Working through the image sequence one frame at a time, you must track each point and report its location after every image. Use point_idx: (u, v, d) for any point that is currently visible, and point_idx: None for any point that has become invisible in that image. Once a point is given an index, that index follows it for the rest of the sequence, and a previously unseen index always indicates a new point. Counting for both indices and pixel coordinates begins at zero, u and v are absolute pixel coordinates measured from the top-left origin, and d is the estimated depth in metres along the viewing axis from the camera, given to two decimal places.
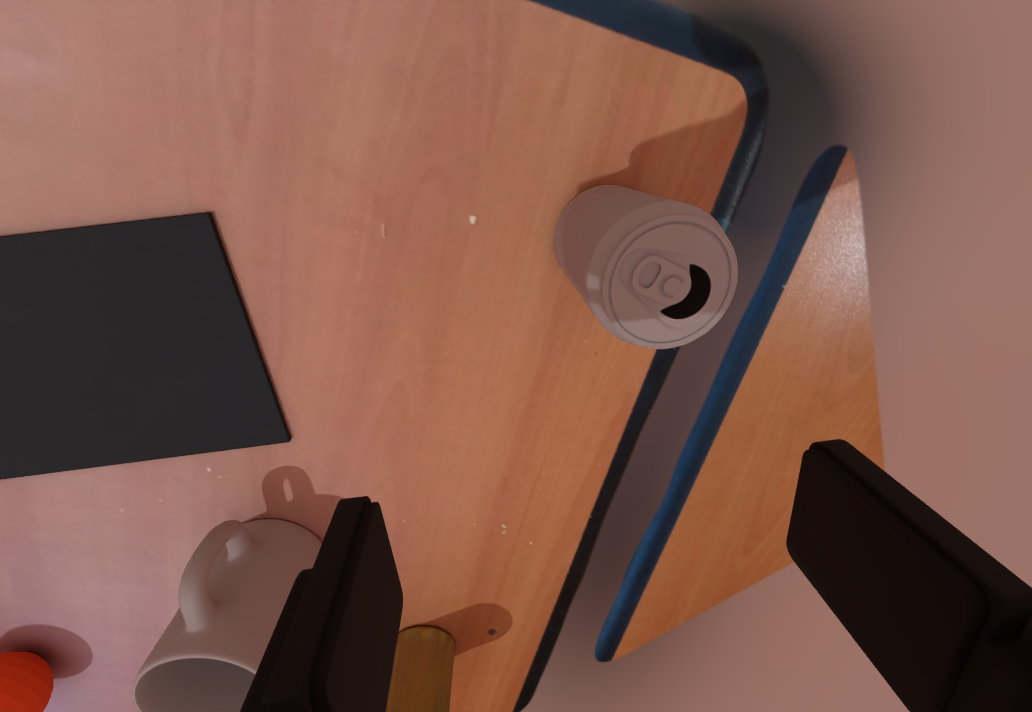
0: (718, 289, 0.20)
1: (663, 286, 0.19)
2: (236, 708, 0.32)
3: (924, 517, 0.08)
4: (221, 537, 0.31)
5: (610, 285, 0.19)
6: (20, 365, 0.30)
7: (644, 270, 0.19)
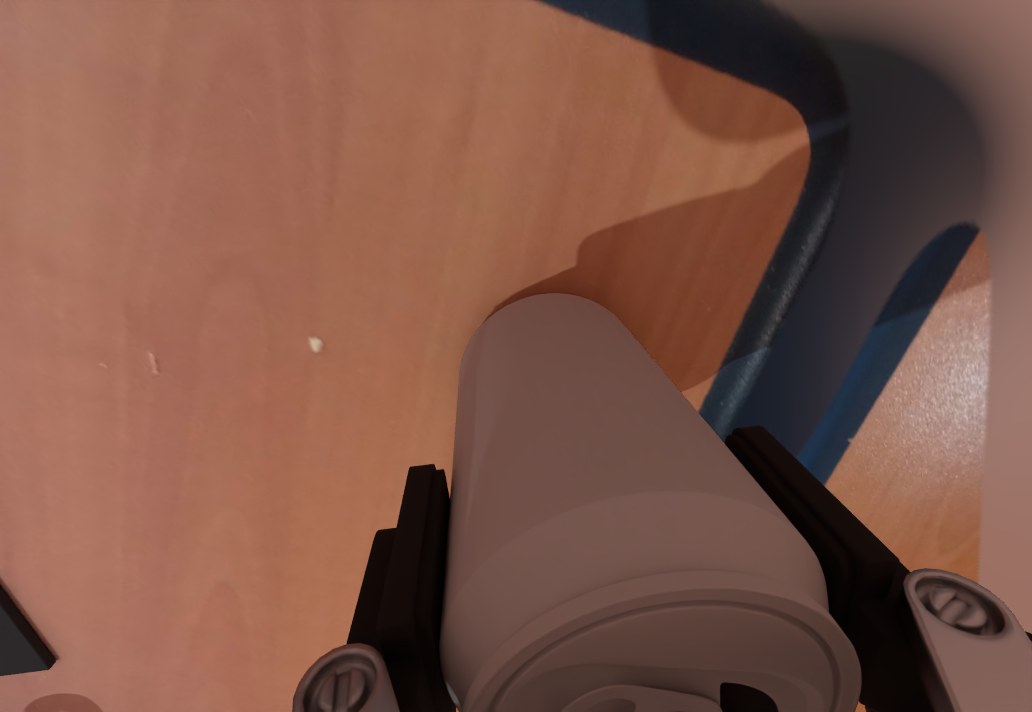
0: None
1: None
2: None
3: (815, 493, 0.08)
4: None
5: None
6: None
7: (587, 703, 0.06)
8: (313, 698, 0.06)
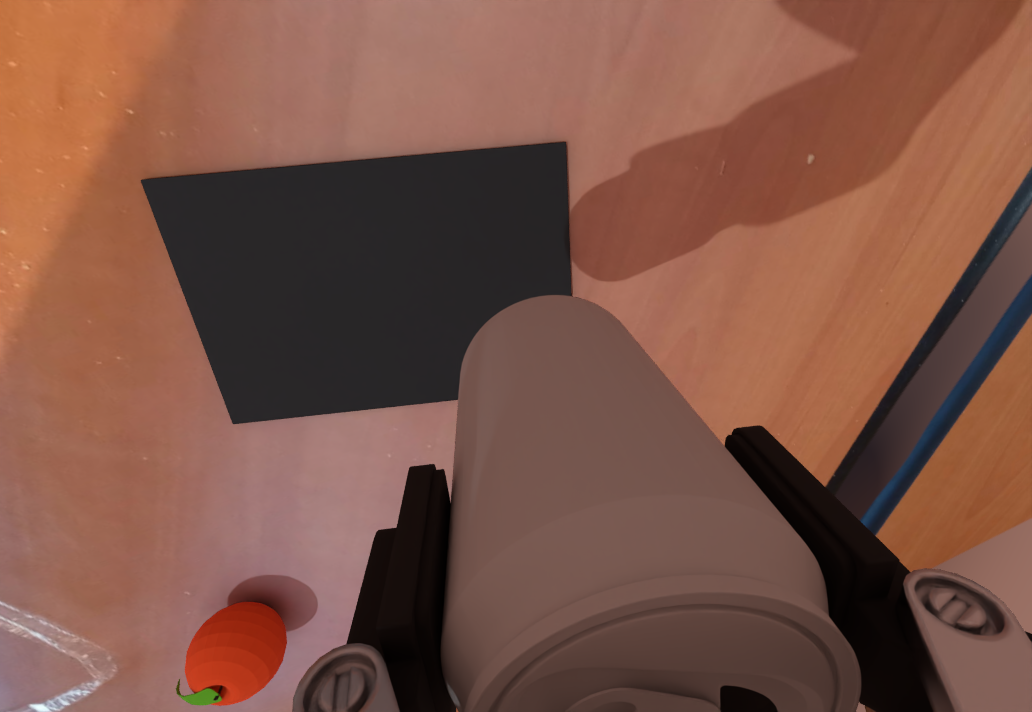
0: None
1: None
2: None
3: (815, 493, 0.08)
4: None
5: None
6: (340, 297, 0.30)
7: None
8: (313, 698, 0.06)
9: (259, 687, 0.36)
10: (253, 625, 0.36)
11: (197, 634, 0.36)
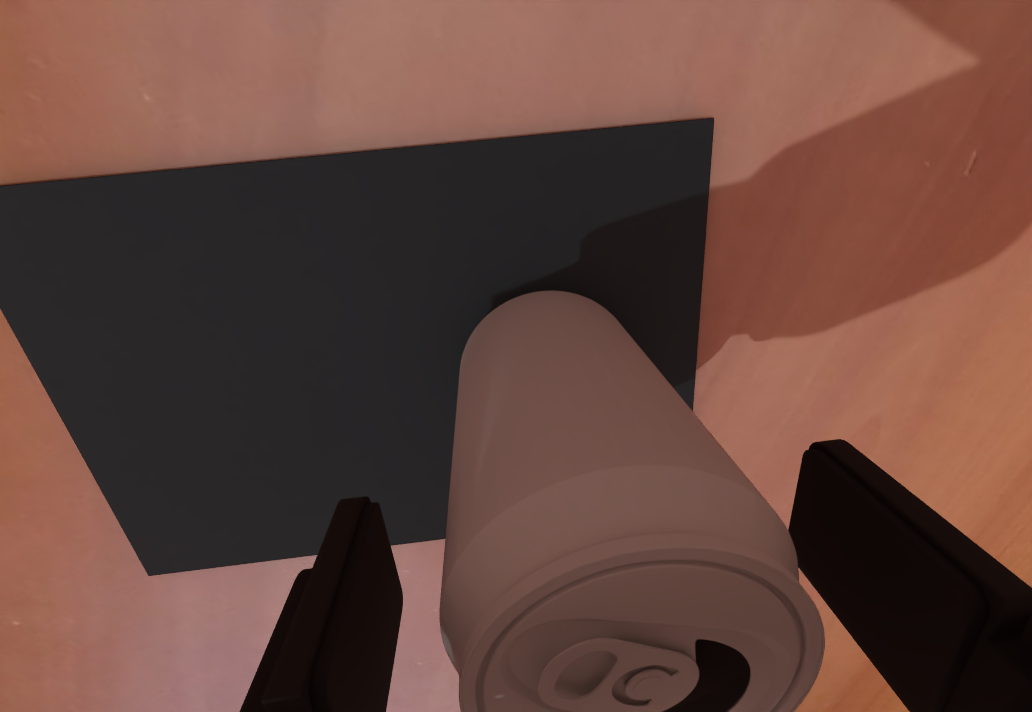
0: (768, 681, 0.08)
1: (627, 686, 0.07)
2: None
3: (924, 517, 0.08)
4: None
5: (482, 687, 0.07)
6: (313, 386, 0.18)
7: (573, 657, 0.07)
8: None
9: None
10: None
11: None
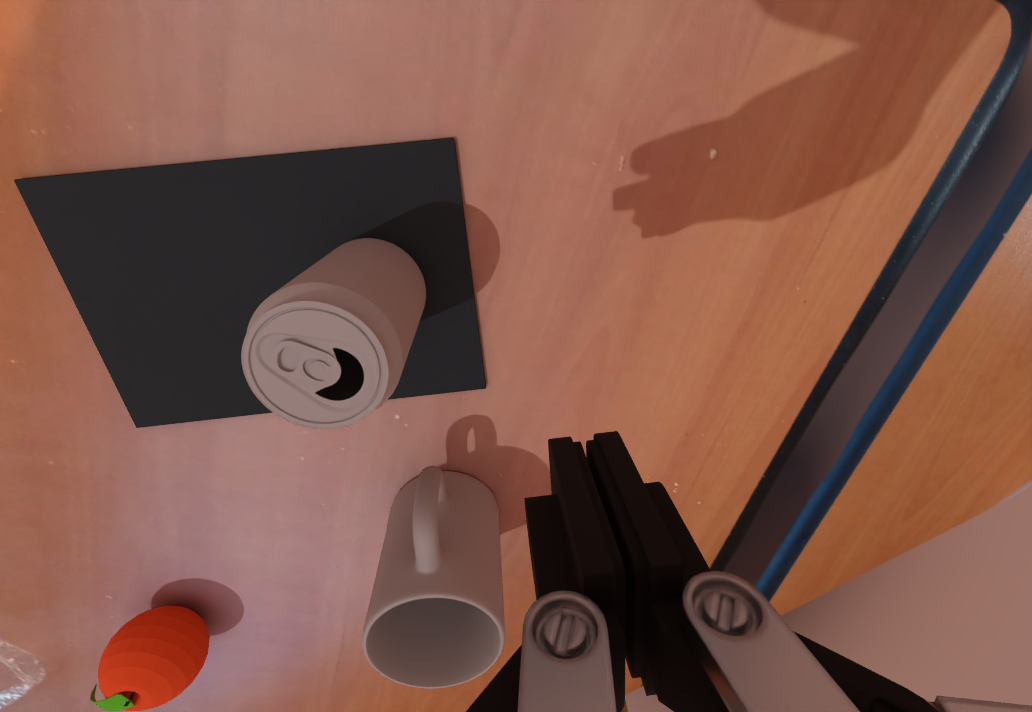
0: (372, 372, 0.19)
1: (310, 369, 0.19)
2: (441, 658, 0.31)
3: (636, 498, 0.09)
4: (437, 480, 0.30)
5: (253, 367, 0.19)
6: (234, 298, 0.29)
7: (286, 354, 0.19)
8: (535, 638, 0.07)
9: (174, 692, 0.36)
10: (168, 630, 0.36)
11: (112, 639, 0.36)
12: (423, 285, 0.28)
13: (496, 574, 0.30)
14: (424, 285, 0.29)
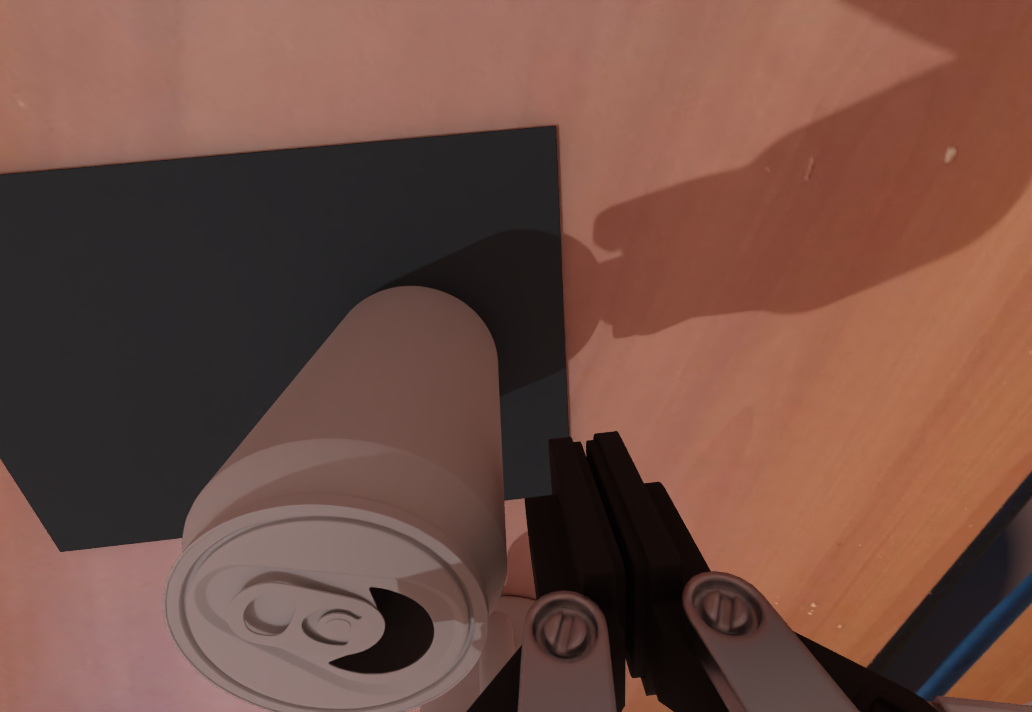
0: (452, 627, 0.09)
1: (318, 627, 0.09)
2: None
3: (636, 498, 0.09)
4: (510, 650, 0.20)
5: (192, 625, 0.08)
6: (201, 373, 0.19)
7: (264, 600, 0.08)
8: (536, 638, 0.07)
9: None
10: None
11: None
12: (497, 359, 0.18)
13: None
14: (497, 358, 0.18)
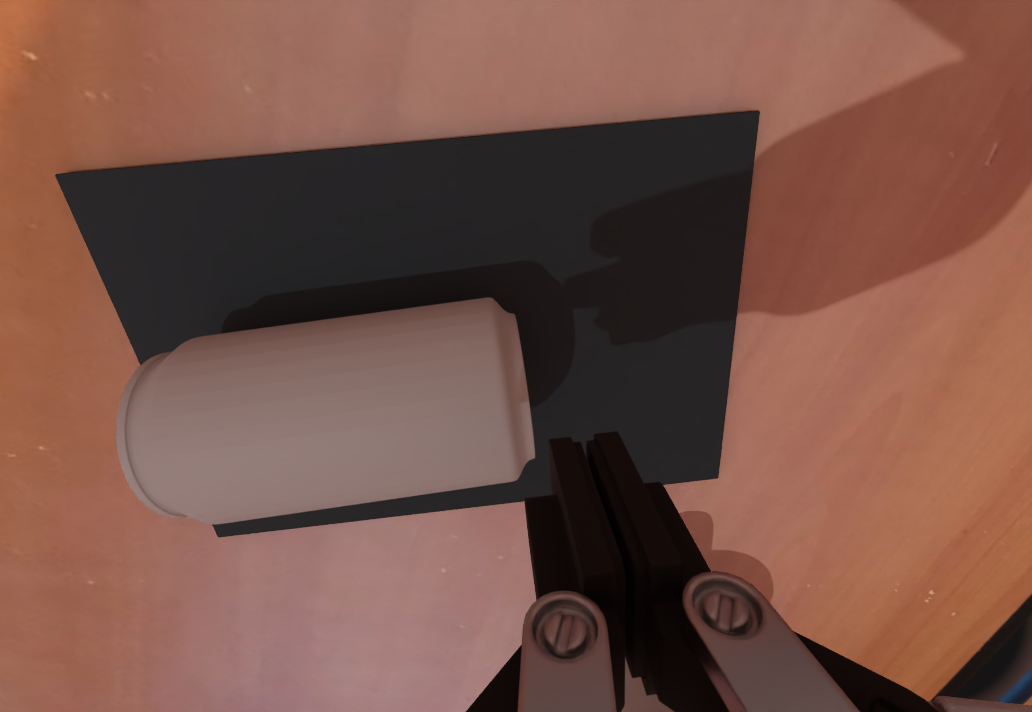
0: None
1: None
2: None
3: (636, 498, 0.09)
4: None
5: None
6: None
7: None
8: (535, 638, 0.07)
9: None
10: None
11: None
12: (480, 437, 0.14)
13: None
14: (494, 438, 0.14)
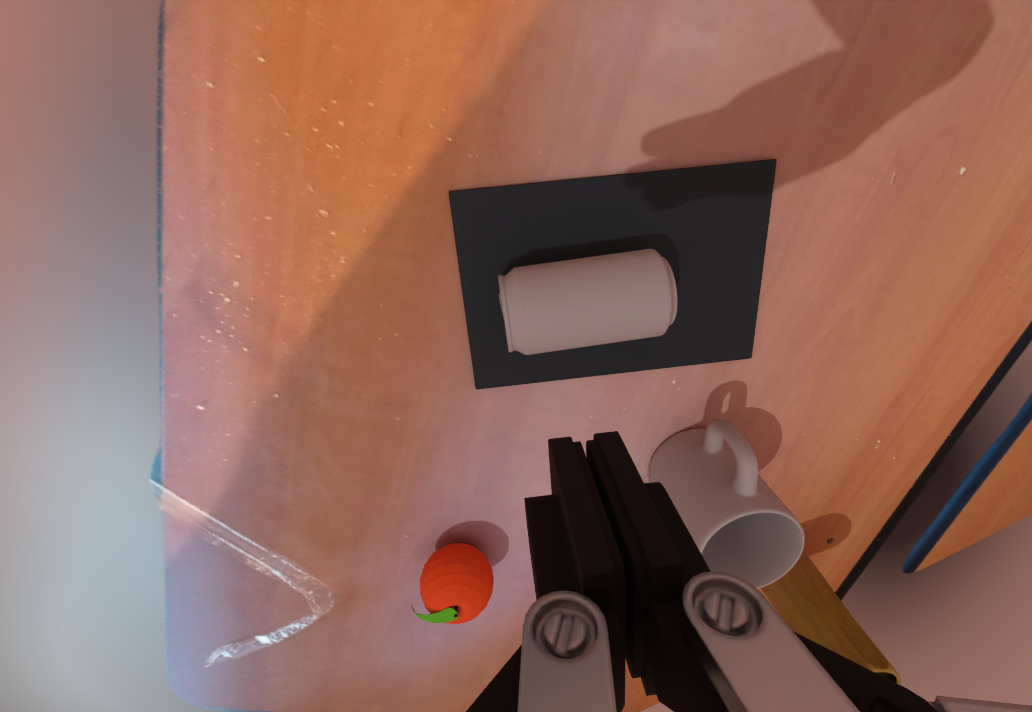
0: None
1: (503, 313, 0.35)
2: (732, 571, 0.39)
3: (636, 498, 0.09)
4: None
5: None
6: None
7: None
8: (535, 638, 0.07)
9: (482, 610, 0.43)
10: (475, 559, 0.44)
11: (430, 566, 0.43)
12: (658, 305, 0.32)
13: None
14: (664, 306, 0.32)
